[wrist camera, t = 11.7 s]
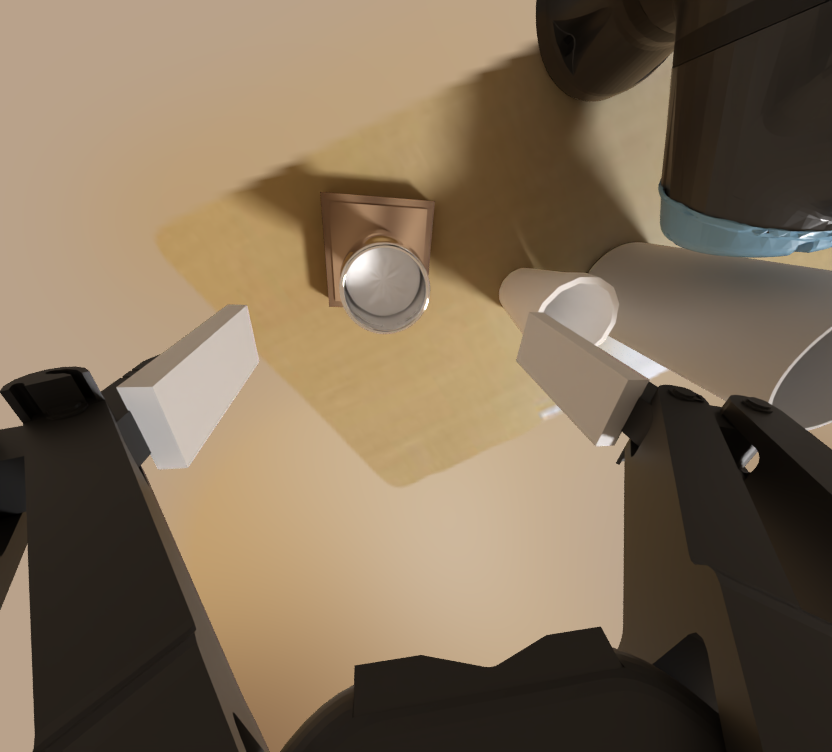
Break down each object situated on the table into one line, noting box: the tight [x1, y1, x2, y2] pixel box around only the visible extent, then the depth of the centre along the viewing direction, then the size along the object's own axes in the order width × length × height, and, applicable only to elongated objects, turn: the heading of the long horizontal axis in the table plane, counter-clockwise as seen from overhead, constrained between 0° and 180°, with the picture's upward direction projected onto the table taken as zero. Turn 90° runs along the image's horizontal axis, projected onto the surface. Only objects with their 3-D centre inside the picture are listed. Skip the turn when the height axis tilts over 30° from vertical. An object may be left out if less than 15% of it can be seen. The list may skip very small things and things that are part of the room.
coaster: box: [320, 192, 435, 307], centre depth 36 cm, size 12×12×3 cm
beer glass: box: [339, 229, 430, 334], centre depth 28 cm, size 7×7×15 cm
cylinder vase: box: [588, 242, 832, 430], centre depth 33 cm, size 12×12×25 cm
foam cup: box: [499, 268, 619, 347], centre depth 37 cm, size 10×9×13 cm
